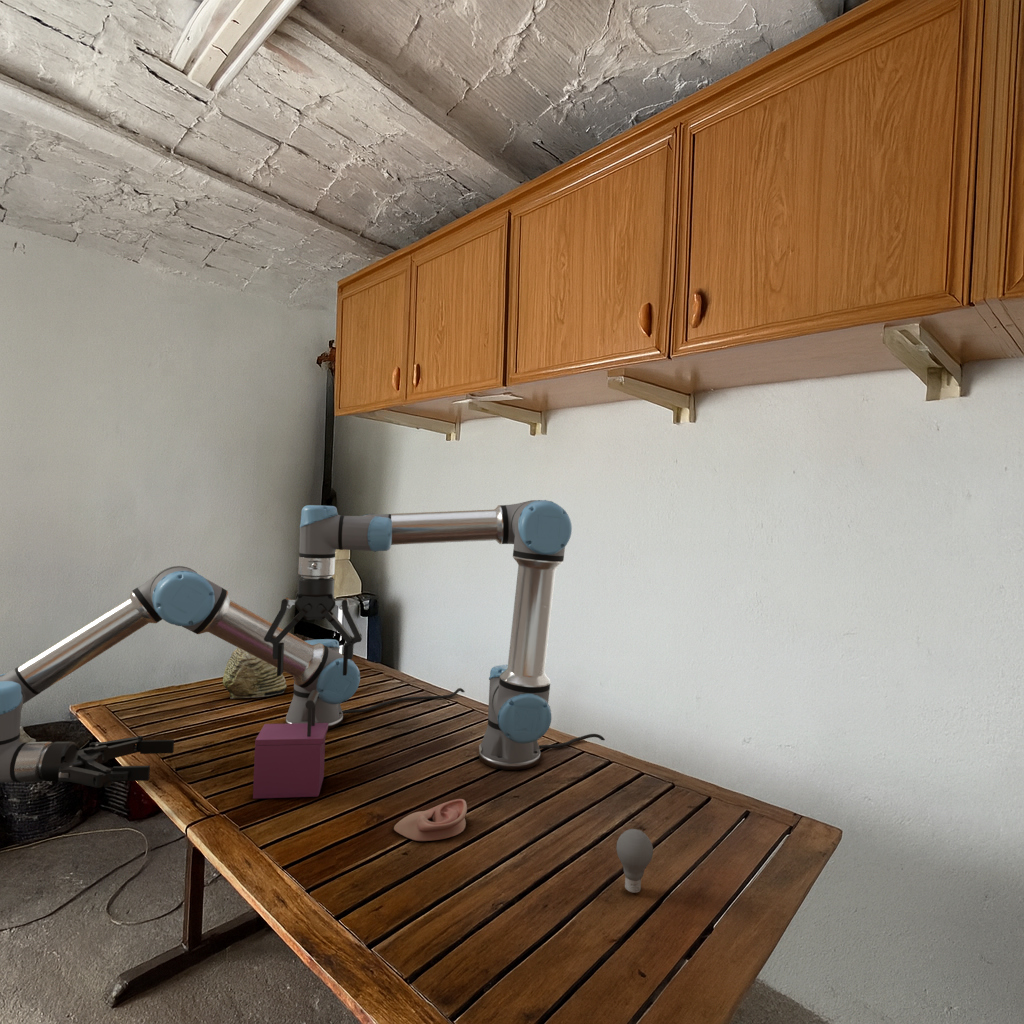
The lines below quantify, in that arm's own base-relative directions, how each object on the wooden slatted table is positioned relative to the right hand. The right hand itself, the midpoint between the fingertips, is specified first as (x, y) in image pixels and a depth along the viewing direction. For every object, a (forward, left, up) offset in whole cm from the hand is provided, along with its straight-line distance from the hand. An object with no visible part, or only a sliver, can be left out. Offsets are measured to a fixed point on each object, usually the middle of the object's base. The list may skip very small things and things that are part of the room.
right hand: (312, 674), depth 137 cm
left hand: (+29, -7, -18) cm, 35 cm away
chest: (+4, -1, -25) cm, 25 cm away
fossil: (+9, -70, -25) cm, 74 cm away
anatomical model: (-20, +25, -25) cm, 41 cm away
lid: (+4, -1, -14) cm, 14 cm away
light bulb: (-46, +56, -25) cm, 76 cm away
